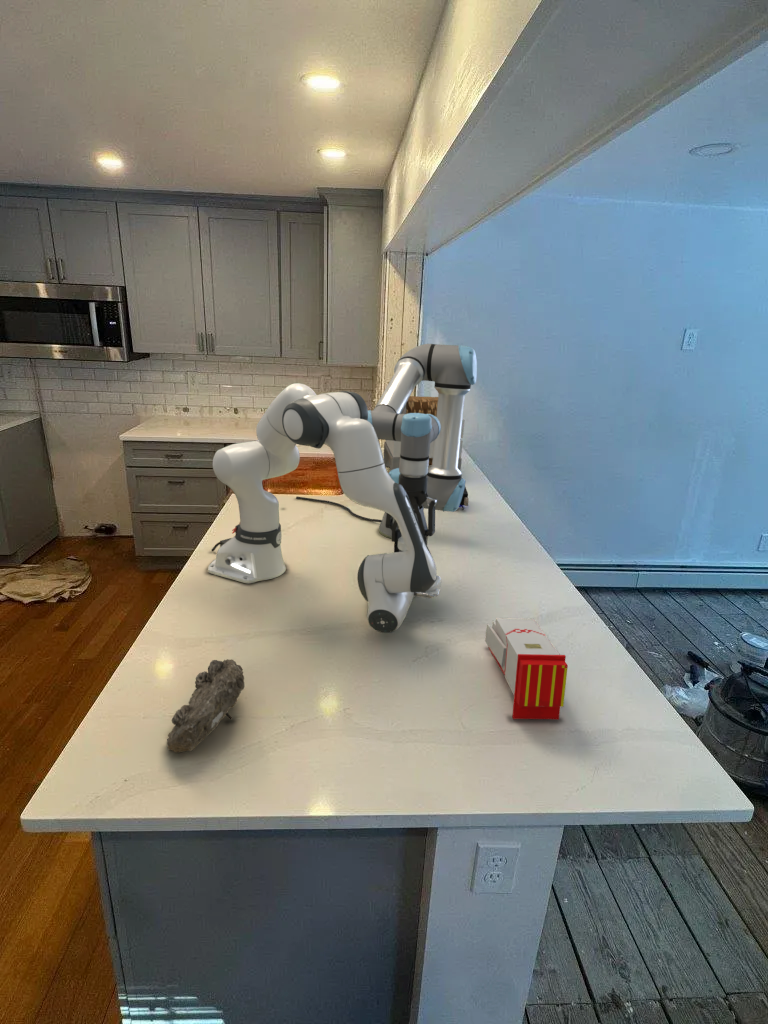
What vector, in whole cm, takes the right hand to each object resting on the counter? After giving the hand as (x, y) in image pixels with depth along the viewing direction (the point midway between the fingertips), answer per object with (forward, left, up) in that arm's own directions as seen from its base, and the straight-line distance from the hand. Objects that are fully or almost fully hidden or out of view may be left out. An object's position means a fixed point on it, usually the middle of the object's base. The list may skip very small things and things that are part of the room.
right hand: (408, 554), depth 155 cm
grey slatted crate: (-86, +89, -11) cm, 124 cm away
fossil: (+15, -64, -11) cm, 67 cm away
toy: (+44, -7, -11) cm, 46 cm away
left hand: (-1, +1, -5) cm, 5 cm away
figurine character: (-42, +68, -11) cm, 81 cm away
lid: (0, 0, +4) cm, 4 cm away
